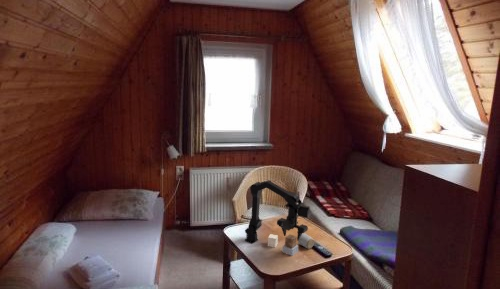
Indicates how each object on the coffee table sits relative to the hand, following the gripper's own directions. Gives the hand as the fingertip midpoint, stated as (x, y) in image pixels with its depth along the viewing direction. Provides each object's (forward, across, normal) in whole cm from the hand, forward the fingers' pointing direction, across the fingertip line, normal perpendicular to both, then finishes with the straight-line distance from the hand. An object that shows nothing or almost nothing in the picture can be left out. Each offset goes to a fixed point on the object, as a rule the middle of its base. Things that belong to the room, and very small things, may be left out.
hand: (291, 238), depth 205 cm
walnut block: (+5, 0, 0) cm, 5 cm away
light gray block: (+9, 0, 0) cm, 9 cm away
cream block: (+9, -13, 0) cm, 16 cm away
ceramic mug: (+10, +4, +14) cm, 17 cm away
